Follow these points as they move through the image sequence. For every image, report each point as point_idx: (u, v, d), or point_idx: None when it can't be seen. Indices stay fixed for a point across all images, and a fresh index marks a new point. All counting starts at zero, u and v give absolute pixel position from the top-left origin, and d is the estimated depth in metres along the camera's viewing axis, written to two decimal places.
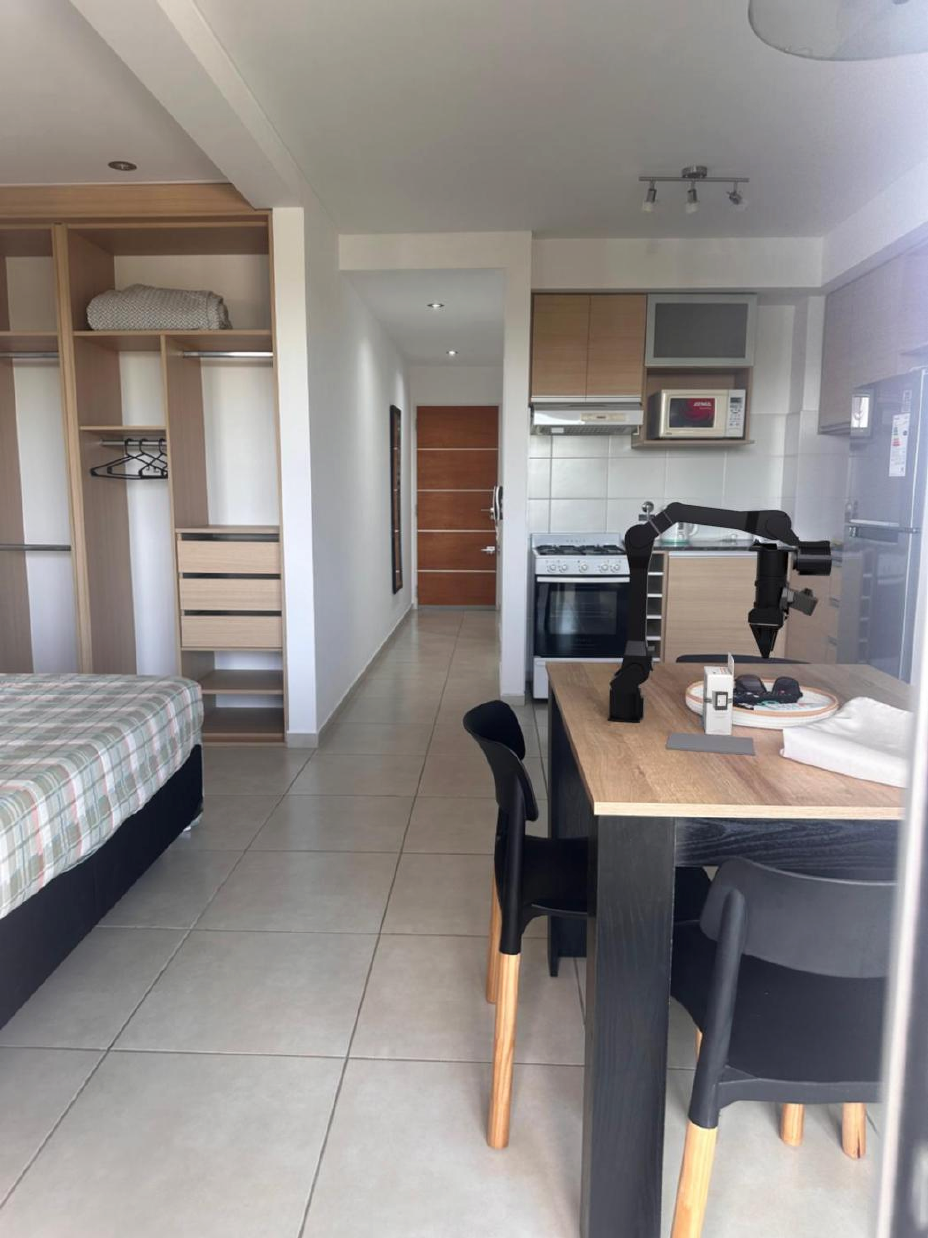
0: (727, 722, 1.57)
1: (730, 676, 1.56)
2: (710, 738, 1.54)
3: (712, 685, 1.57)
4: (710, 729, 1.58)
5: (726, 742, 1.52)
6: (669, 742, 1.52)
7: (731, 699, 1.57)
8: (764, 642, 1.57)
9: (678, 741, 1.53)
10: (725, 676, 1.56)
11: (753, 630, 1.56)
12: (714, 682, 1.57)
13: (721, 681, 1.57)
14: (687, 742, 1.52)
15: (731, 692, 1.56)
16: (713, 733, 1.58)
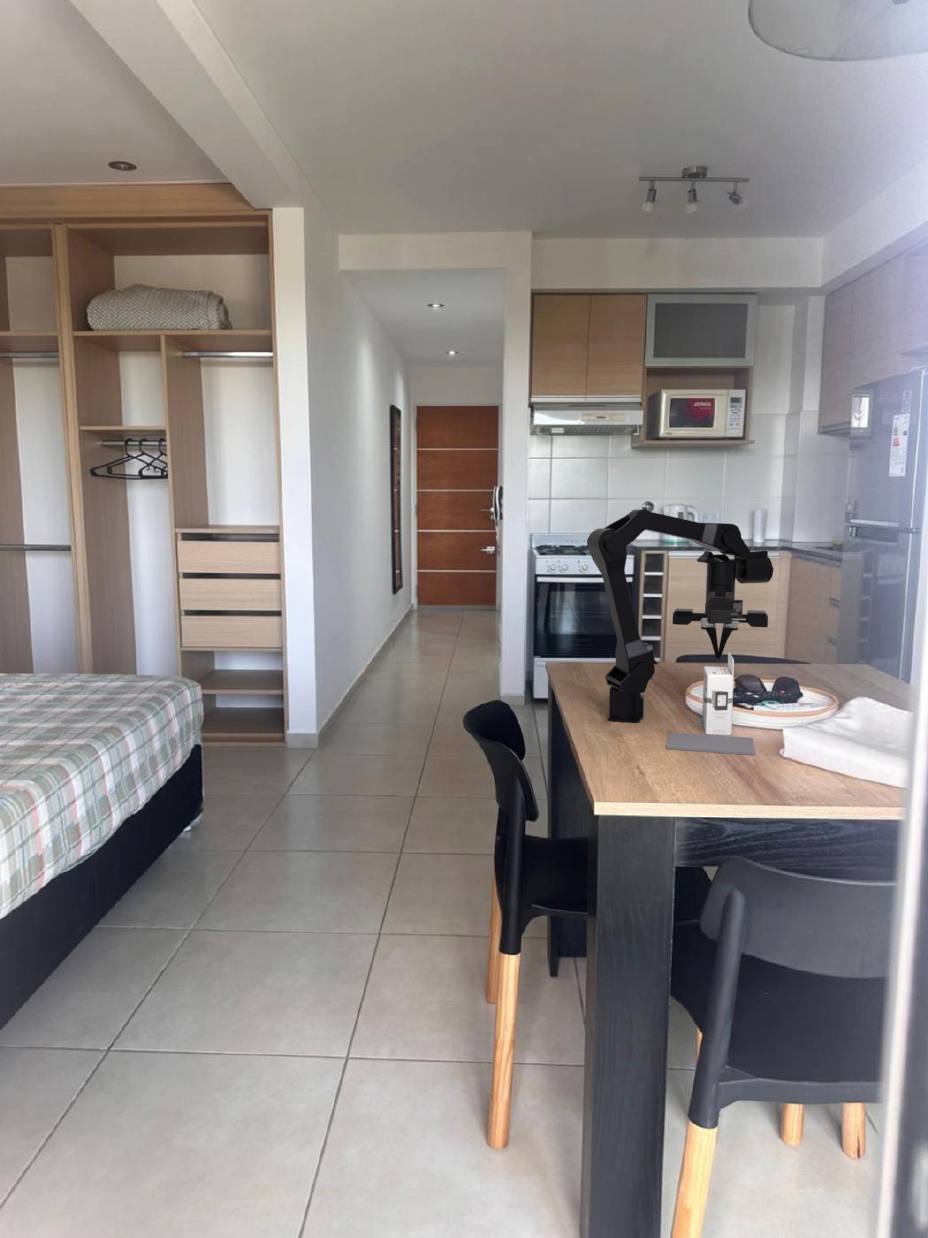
0: (727, 722, 1.57)
1: (730, 676, 1.56)
2: (710, 738, 1.54)
3: (712, 685, 1.57)
4: (710, 729, 1.58)
5: (726, 742, 1.52)
6: (669, 742, 1.52)
7: (731, 699, 1.57)
8: None
9: (678, 741, 1.53)
10: (725, 676, 1.56)
11: None
12: (714, 682, 1.57)
13: (721, 681, 1.57)
14: (687, 742, 1.52)
15: (731, 692, 1.56)
16: (713, 733, 1.58)
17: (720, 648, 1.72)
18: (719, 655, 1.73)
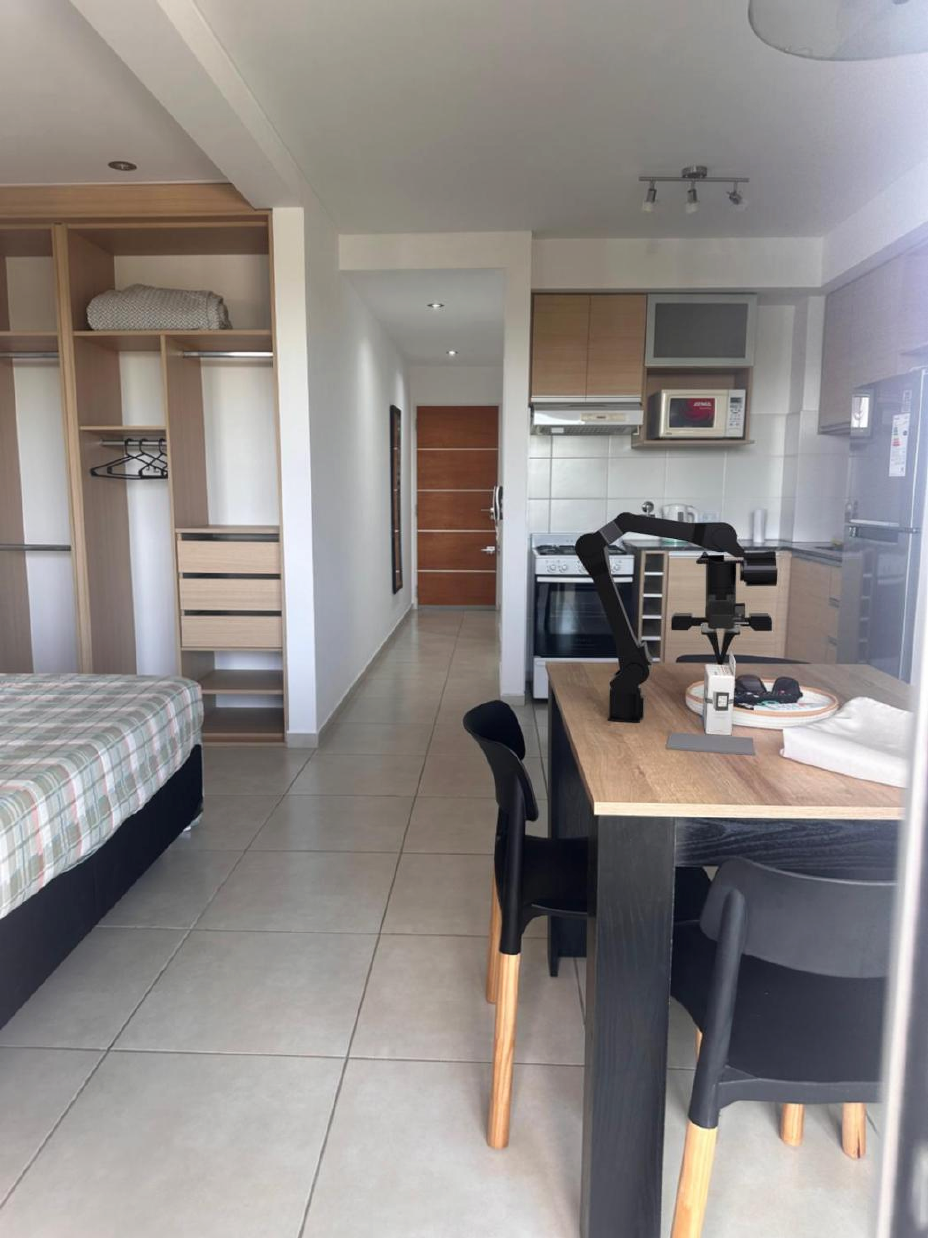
0: (728, 723, 1.57)
1: (731, 677, 1.55)
2: (710, 738, 1.54)
3: (713, 686, 1.56)
4: (710, 729, 1.58)
5: (726, 742, 1.52)
6: (669, 742, 1.52)
7: (732, 700, 1.56)
8: None
9: (678, 741, 1.53)
10: (726, 677, 1.55)
11: None
12: (715, 683, 1.56)
13: (722, 682, 1.56)
14: (687, 742, 1.52)
15: (732, 693, 1.56)
16: (714, 732, 1.58)
17: (722, 654, 1.63)
18: (721, 661, 1.64)
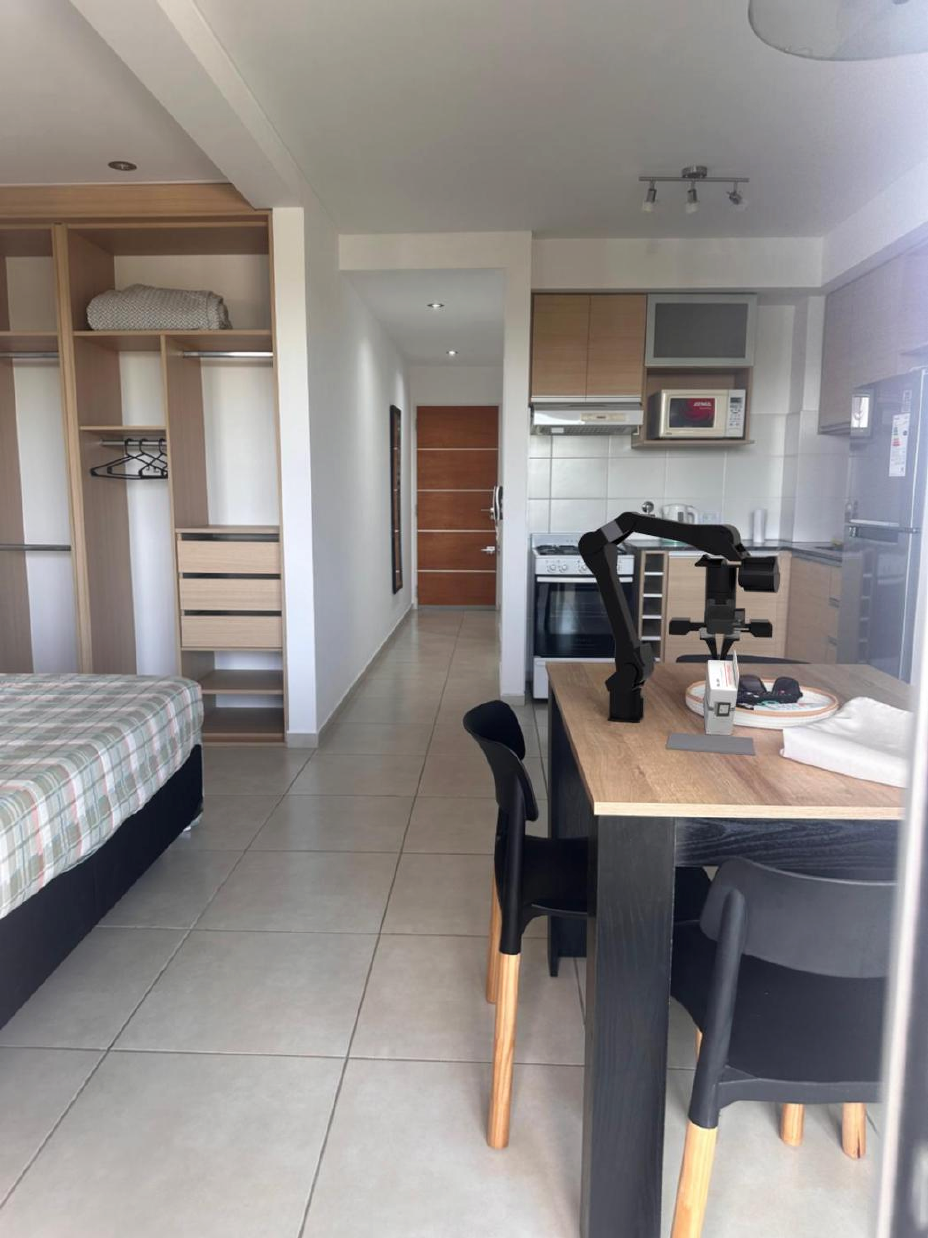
0: (728, 726, 1.56)
1: (734, 690, 1.51)
2: (710, 738, 1.54)
3: (715, 697, 1.53)
4: (710, 730, 1.58)
5: (726, 742, 1.52)
6: (669, 742, 1.52)
7: (733, 708, 1.53)
8: None
9: (678, 741, 1.53)
10: (729, 690, 1.51)
11: None
12: (717, 695, 1.52)
13: (724, 694, 1.52)
14: (687, 742, 1.52)
15: (734, 703, 1.53)
16: (714, 733, 1.58)
17: (721, 660, 1.59)
18: None
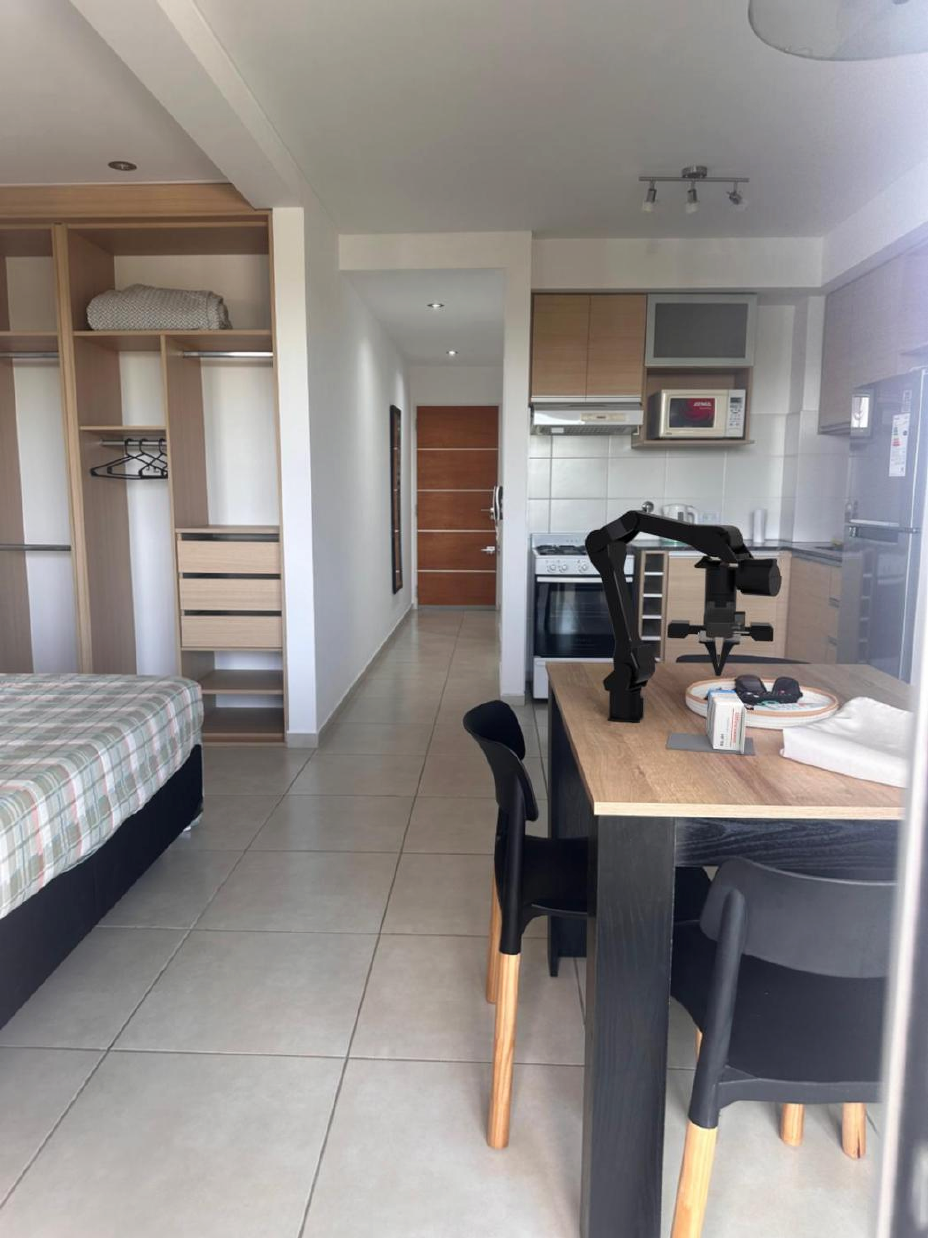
0: None
1: None
2: None
3: None
4: None
5: None
6: (669, 742, 1.52)
7: None
8: None
9: (678, 741, 1.53)
10: None
11: None
12: None
13: None
14: (687, 742, 1.52)
15: None
16: None
17: (720, 664, 1.55)
18: (719, 672, 1.56)
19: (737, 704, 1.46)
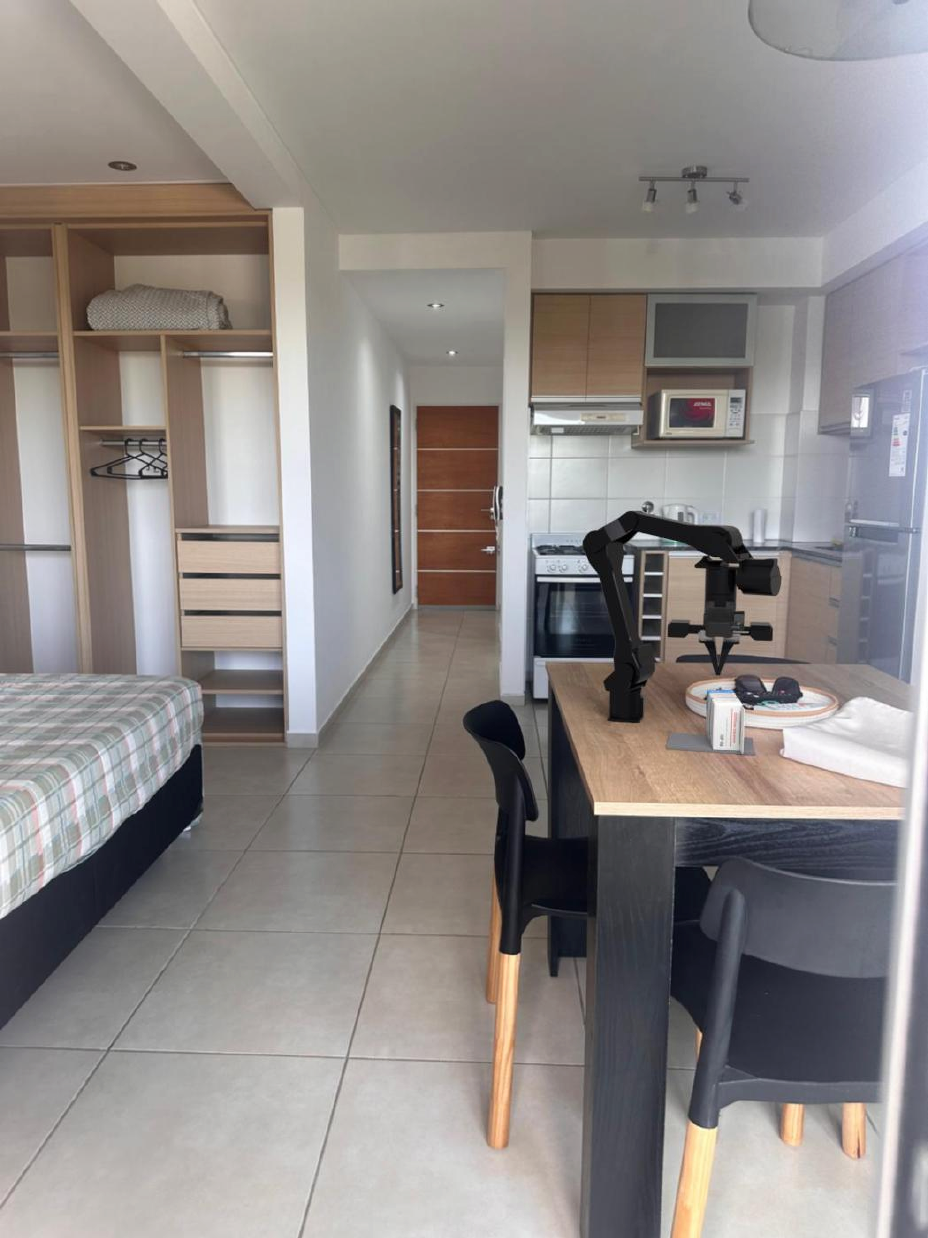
0: None
1: None
2: None
3: None
4: None
5: None
6: (669, 742, 1.52)
7: None
8: None
9: (678, 741, 1.53)
10: None
11: None
12: None
13: None
14: (687, 742, 1.52)
15: None
16: None
17: (720, 664, 1.56)
18: (719, 671, 1.57)
19: (735, 704, 1.46)
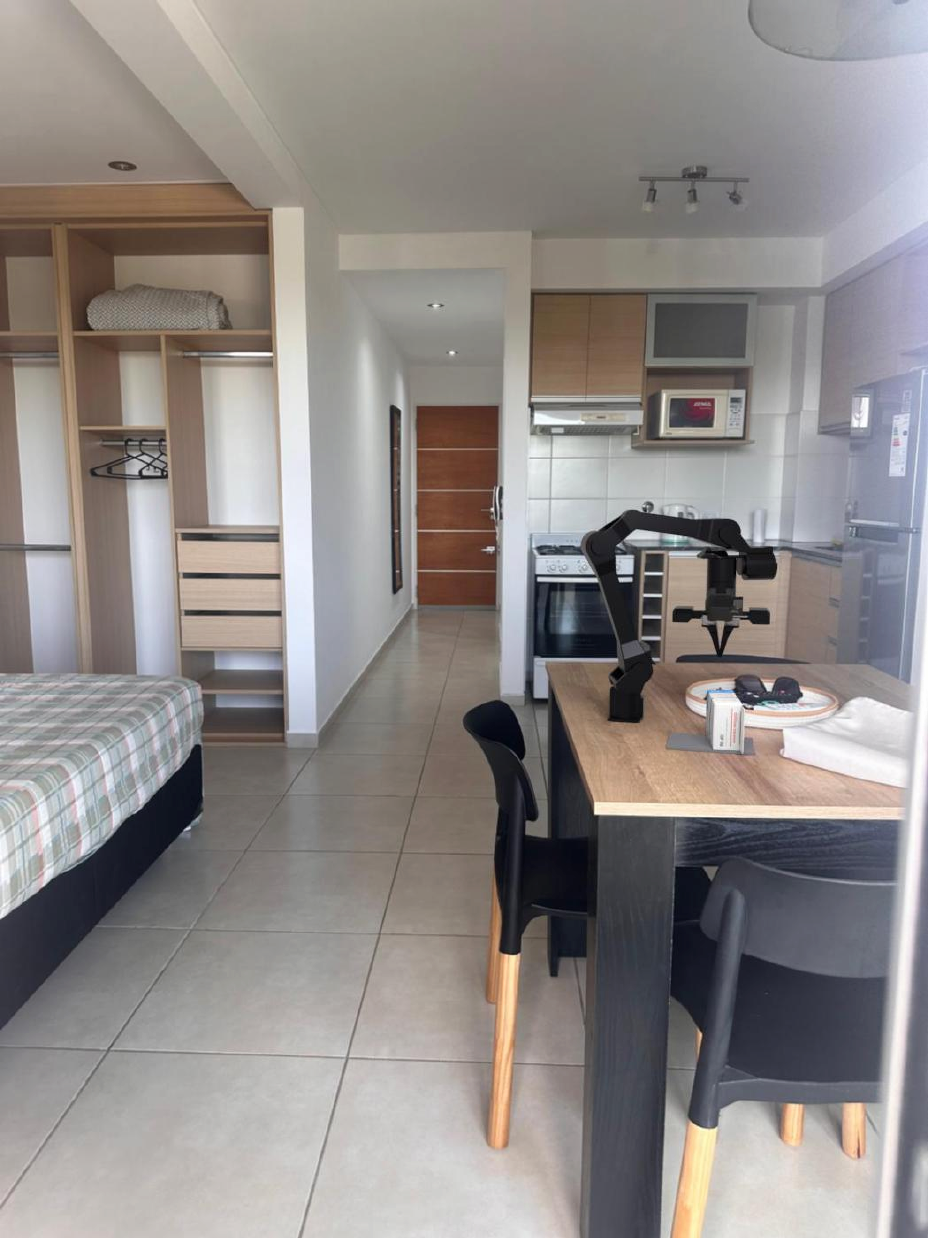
0: None
1: None
2: None
3: None
4: None
5: None
6: (669, 742, 1.52)
7: None
8: None
9: (678, 741, 1.53)
10: None
11: None
12: None
13: None
14: (687, 742, 1.52)
15: None
16: None
17: (721, 646, 1.68)
18: (720, 653, 1.69)
19: (735, 704, 1.46)
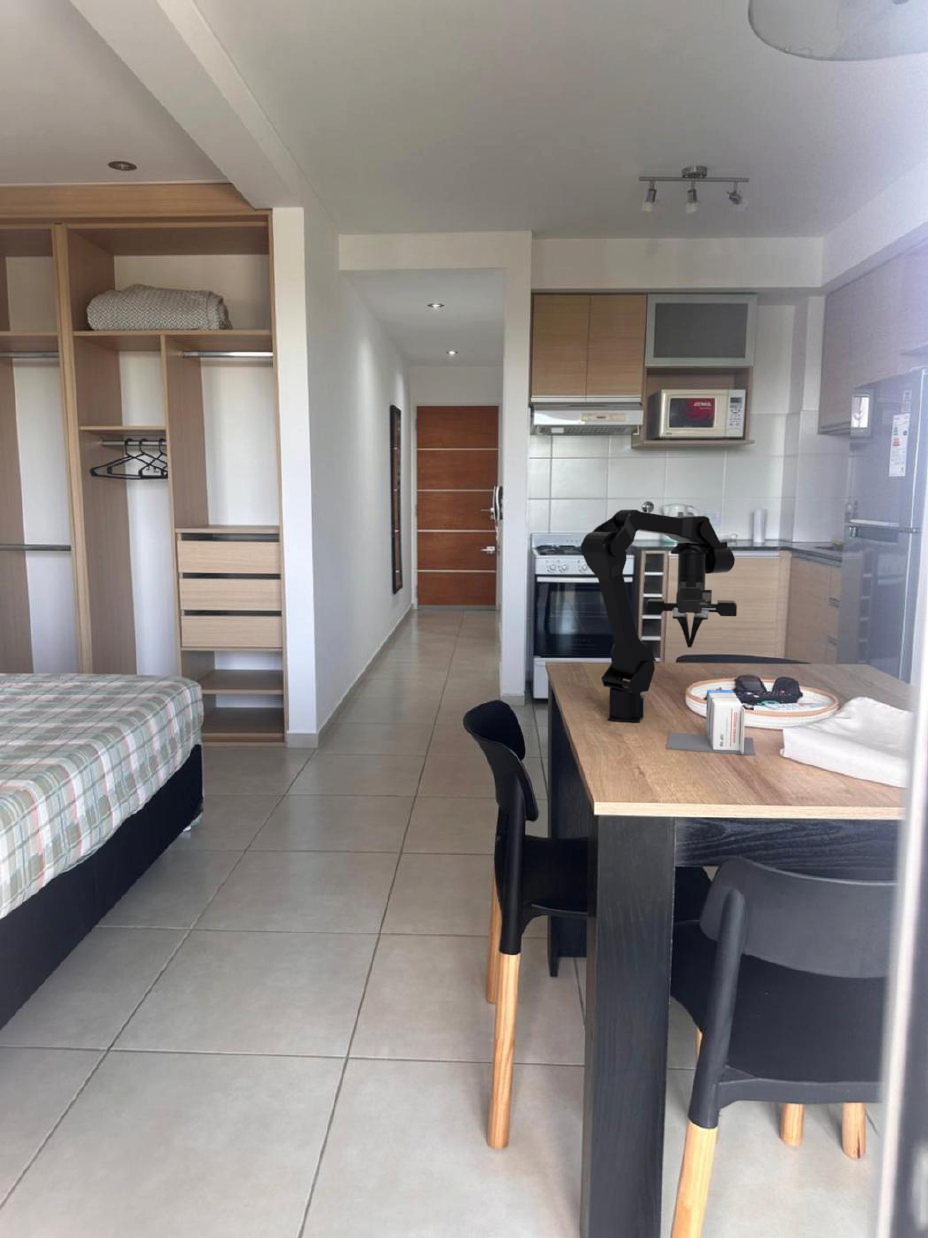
0: None
1: None
2: None
3: None
4: None
5: None
6: (669, 742, 1.52)
7: None
8: None
9: (678, 741, 1.53)
10: None
11: None
12: None
13: None
14: (687, 742, 1.52)
15: None
16: None
17: (691, 637, 1.78)
18: (690, 644, 1.78)
19: (735, 704, 1.46)
